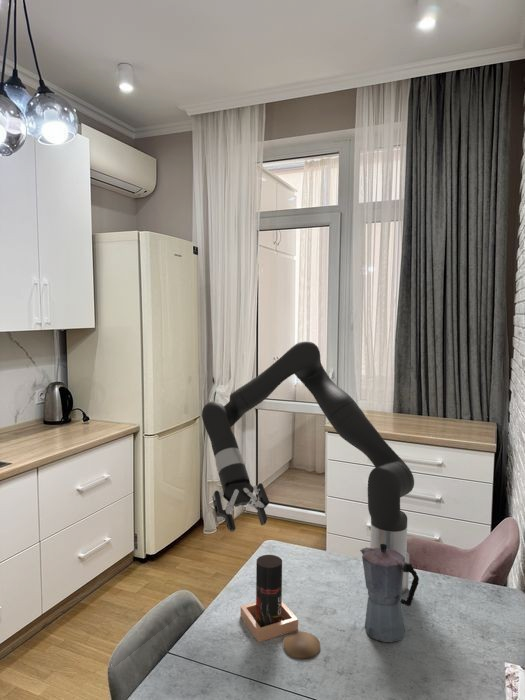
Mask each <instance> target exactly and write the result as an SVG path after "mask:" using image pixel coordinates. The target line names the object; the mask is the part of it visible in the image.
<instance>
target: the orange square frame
mask: <svg viewBox="0 0 525 700" xmlns="http://www.w3.org/2000/svg"><path fill="white" fill-rule="evenodd" d="M254 616H256V601H255V602H252V603H249V604H244V605H242V606H240V616H239V617H240V618H241V619H242V621H243V622H244V624H245V626H246V627H247V628H248V630H249V631H250V633H251V634H252V636H253V637H254V638H255V641H257V643H261V642H265V641H267V640H270V639H274V638H276V637H280V636H283V635H286V634H287V635H288V634H290V633H292V632H297V631H299V619H298V618H297V616H296V615H295V614H294V612H293V611H292V610H291V609H289V607H288V606H287V605H286V604H285V603H284V602H283V600H282V613H281V618H282V619H284V620H281V622H278V623H274V624H271V625H268V626H265V627H260V626H259V625H258V623H257V622H256V618H254Z"/></svg>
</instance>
